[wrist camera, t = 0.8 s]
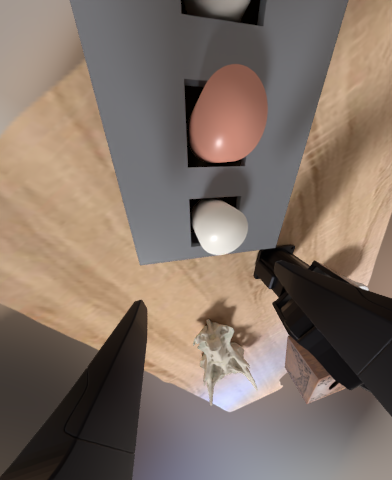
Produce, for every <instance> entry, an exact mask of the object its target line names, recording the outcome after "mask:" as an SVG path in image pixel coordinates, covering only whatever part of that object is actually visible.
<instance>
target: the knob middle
mask: <svg viewBox="0 0 392 480" xmlns="http://www.w3.org/2000/svg"><path fill="white" fill-rule="evenodd" d="M267 115H268V103H267V96H266V92H265V89H264V86H263V84H262V82H261V80H260V78H259V77H258V76H257V74H256V73H255V72H254V71H253V70H251V69H250V68H248V67H246V66H244V65H240V64H231V65H227V66H224V67H222V68H221V69H219V70H217V71H216V72H215V73H214V74H213V75H212V76H211V77H210V79H209V80H208V81H207V83H206V85H205V86H204V88H203V91H202V93H201V95H200V97H199V99H198V101H197V103H196V105H195V107H194V109H193V111H192V113H191V116H190V118H189V121H188V124H187V141H188V144H189V147H190V149H191V151H192V153H193V154H194V155H195V156H196V157H197V158H198V159H199V160H201V161H202V162H205V163H220V162H232V161H237V160H240V159H242V158H244V157H245V156H247V155H248V154H249V153H250V152H251V151H252V150H253V149H254V148H255V147H256V146H257V144H258V143H259V141H260V139H261V137H262V135H263V132H264V129H265V126H266V122H267Z"/></svg>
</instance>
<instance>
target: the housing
mask: <svg viewBox="0 0 392 480" xmlns="http://www.w3.org/2000/svg"><path fill="white" fill-rule="evenodd" d="M70 3H71V7H72V10H73V14H74V18H75V21H76V25H77V29H78V33H79V37H80V40H81V44H82V48H83V52H84V56H85V59H86V63H87V67H88V71H89V74H90V78H91V82H92V86H93V90H94V93H95V97H96V101H97V105H98V108H99V112H100V116H101V120H102V124H103V127H104V131H105V135H106V139H107V142H108V146H109V150H110V154H111V158H112V161H113V165H114V169H115V173H116V176H117V180H118V184H119V188H120V192H121V195H122V199H123V203H124V207H125V210H126V214H127V218H128V222H129V225H130V229H131V233H132V237H133V241H134V244H135V248H136V252H137V256H138V259H139V263H140V265H147V264H155V263H162V262H170V261H178V260H185V259H193V258H201V257H209V256H216V255H213V254H210V253H208V252H207V251H205V250H204V249H203V248H202V246H201V244H200V242H199V240H198V238H197V236H196V233H191V231H190V207H189V199H200V198H216V197H233V196H237V202H236V209H237V210H239V211H240V212H242V213H243V214H244V216H245V217H246V219H247V222H248V232H247V235H246V238H245V240H244V241H243V243H242V244H241V245H240V246H239V247H238V248H237V249H235V250H234V251H232V252H230V253H228V254H232V253H239V252H247V251H255V250H262V249H270V248H276V244H277V241H278V238H279V234H280V231H281V227H282V224H283V221H284V217H285V214H286V210H287V207H288V204H289V200H290V197H291V193H292V190H293V187H294V183H295V180H296V176H297V173H298V170H299V166H300V163H301V159H302V156H303V153H304V149H305V146H306V142H307V139H308V136H309V132H310V129H311V125H312V122H313V119H314V115H315V112H316V108H317V105H318V102H319V98H320V95H321V92H322V88H323V85H324V81H325V78H326V75H327V71H328V68H329V64H330V61H331V58H332V54H333V51H334V47H335V44H336V41H337V37H338V34H339V30H340V27H341V24H342V20H343V17H344V13H345V10H346V7H347V3H348V0H260V6H259V15H258V23H257V25H251V24H244V23H238V22H231V21H225V20H218V19H212V18H205V17H199V16H192V15H186V14H181V0H70ZM231 64H240V65H244V66H246V67H248V68H250V69H251V70H253V71H254V72H255V73H256V74H257V76H258V77H259V78H260V80H261V82H262V84H263V86H264V89H265V92H266V96H267V103H268V115H267V122H266V126H265V129H264V132H263V135H262V137H261V139H260V141H259V143H258V144H257V146H256V147H255V148H254V149H253V150H252V151H251V152H250V153H249V154H248V155H247V156H245V157H244V158H242V160H241V166H228V167H188V159H187V136H186V112H185V88H184V85H186V86H200V87H204V86H205V85H206V83H207V81H208V80H209V79H210V77H211V76H212V75H213V74H214V73H215V72H216V71H217V70H219V69H221V68H222V67H224V66H227V65H231Z"/></svg>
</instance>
